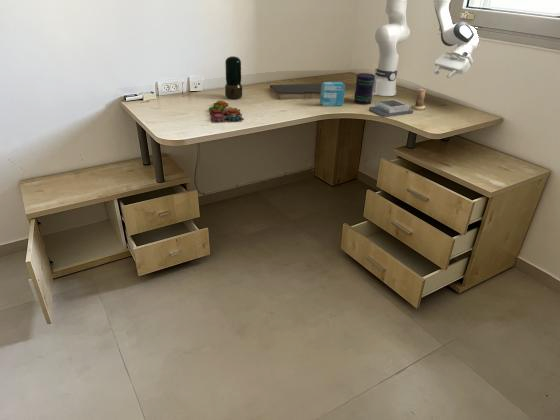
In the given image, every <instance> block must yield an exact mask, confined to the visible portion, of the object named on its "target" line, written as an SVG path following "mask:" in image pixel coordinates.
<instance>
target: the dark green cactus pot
mask: <svg viewBox="0 0 560 420" xmlns="http://www.w3.org/2000/svg"><path fill="white" fill-rule="evenodd" d="M224 65H225V84H224V85H225V86H224V93H225V97H226V98H227V99H229V100H239V99H241V98H242V97H243V84H242V60H241V59H240V58H239V57H238V56H236V55H235V56H234V55H233V56H228V57H227V58H226V59H225V63H224Z"/></svg>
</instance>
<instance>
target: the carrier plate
mask: <svg viewBox="0 0 560 420" xmlns="http://www.w3.org/2000/svg"><path fill="white" fill-rule="evenodd" d="M368 110H369V111H370V112H372V113H374V114H376V115H379V116H381V117H383V118H387V117H395V116H404V115H411V114H414V109H412V108H410V105H409V104H407V103H405V102H402V101H400V100H397V99H395V98H392V99H385V100H384V99H383V100H381V99H380V100H375V103H374V106H369V107H368Z"/></svg>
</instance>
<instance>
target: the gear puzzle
mask: <svg viewBox="0 0 560 420" xmlns="http://www.w3.org/2000/svg"><path fill="white" fill-rule="evenodd" d="M208 111H209V116H210V120H211V123H212V124H217V123H222V124H223V123H233V122H237V123H242V122H243V121H244V120H245V119H244V117H243V114H242V113H241V109H238V108H237V107H231V106H229V102H226V101H225V100H218V101H216V102H214V103H213V106H211V107H209V108H208Z"/></svg>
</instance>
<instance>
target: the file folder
mask: <svg viewBox="0 0 560 420" xmlns="http://www.w3.org/2000/svg"><path fill="white" fill-rule="evenodd" d="M322 83H323V82H322ZM322 83H298V84H297V83H293V84H290V83H289V84H270V85H269V90H270V91H271V92H272V93H273V94H274V95H275V97H276V98H277V99H278V100H283V101H284V100H305V99H310V100H311V99H320V96H321V85H322Z"/></svg>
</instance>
